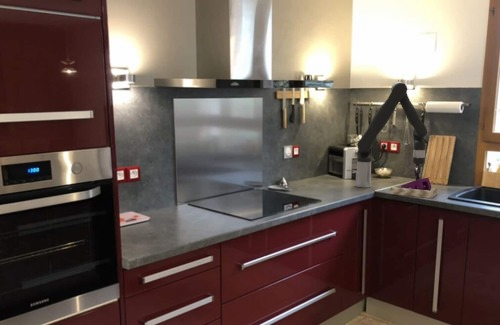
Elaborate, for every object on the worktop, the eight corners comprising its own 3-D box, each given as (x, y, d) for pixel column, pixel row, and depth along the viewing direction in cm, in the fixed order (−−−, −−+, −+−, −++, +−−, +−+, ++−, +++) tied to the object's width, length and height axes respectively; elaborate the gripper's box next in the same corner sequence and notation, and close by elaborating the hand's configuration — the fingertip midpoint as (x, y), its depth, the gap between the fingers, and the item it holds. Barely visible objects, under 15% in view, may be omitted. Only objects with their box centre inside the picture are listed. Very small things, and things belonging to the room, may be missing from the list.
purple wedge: (401, 199, 294) (422, 192, 279) (397, 186, 296) (418, 179, 281) (411, 197, 298) (432, 190, 283) (407, 185, 300) (428, 177, 285)
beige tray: (390, 193, 282) (390, 187, 282) (396, 189, 294) (396, 183, 294) (432, 198, 269) (433, 191, 269) (436, 193, 281) (437, 187, 281)
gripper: (415, 155, 304) (414, 180, 306) (410, 157, 292) (409, 183, 295) (426, 155, 300) (425, 181, 302) (423, 158, 289) (421, 184, 291)
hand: (417, 182), depth 299 cm, fingers closed
